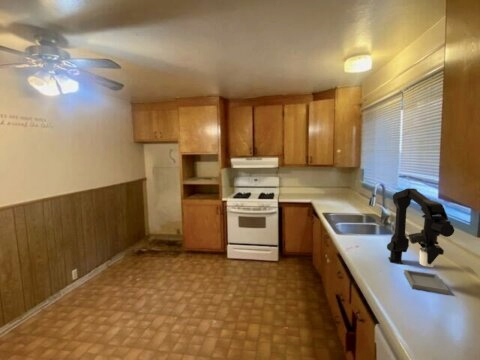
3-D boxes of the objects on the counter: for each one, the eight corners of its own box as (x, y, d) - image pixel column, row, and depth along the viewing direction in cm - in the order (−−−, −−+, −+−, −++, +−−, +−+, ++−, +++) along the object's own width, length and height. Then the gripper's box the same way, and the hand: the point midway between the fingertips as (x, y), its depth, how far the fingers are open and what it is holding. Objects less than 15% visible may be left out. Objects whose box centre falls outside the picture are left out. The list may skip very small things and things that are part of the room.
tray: (404, 273, 141) (404, 269, 141) (436, 278, 137) (436, 274, 137) (412, 288, 126) (412, 284, 126) (448, 294, 122) (448, 290, 122)
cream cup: (418, 260, 135) (420, 246, 134) (436, 264, 131) (437, 250, 130) (416, 264, 130) (418, 250, 129) (434, 269, 126) (436, 254, 125)
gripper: (406, 222, 140) (403, 251, 142) (416, 233, 122) (412, 266, 124) (431, 224, 136) (428, 254, 138) (446, 236, 119) (441, 270, 121)
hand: (426, 261), depth 130 cm, fingers closed on cream cup, 6 cm apart
